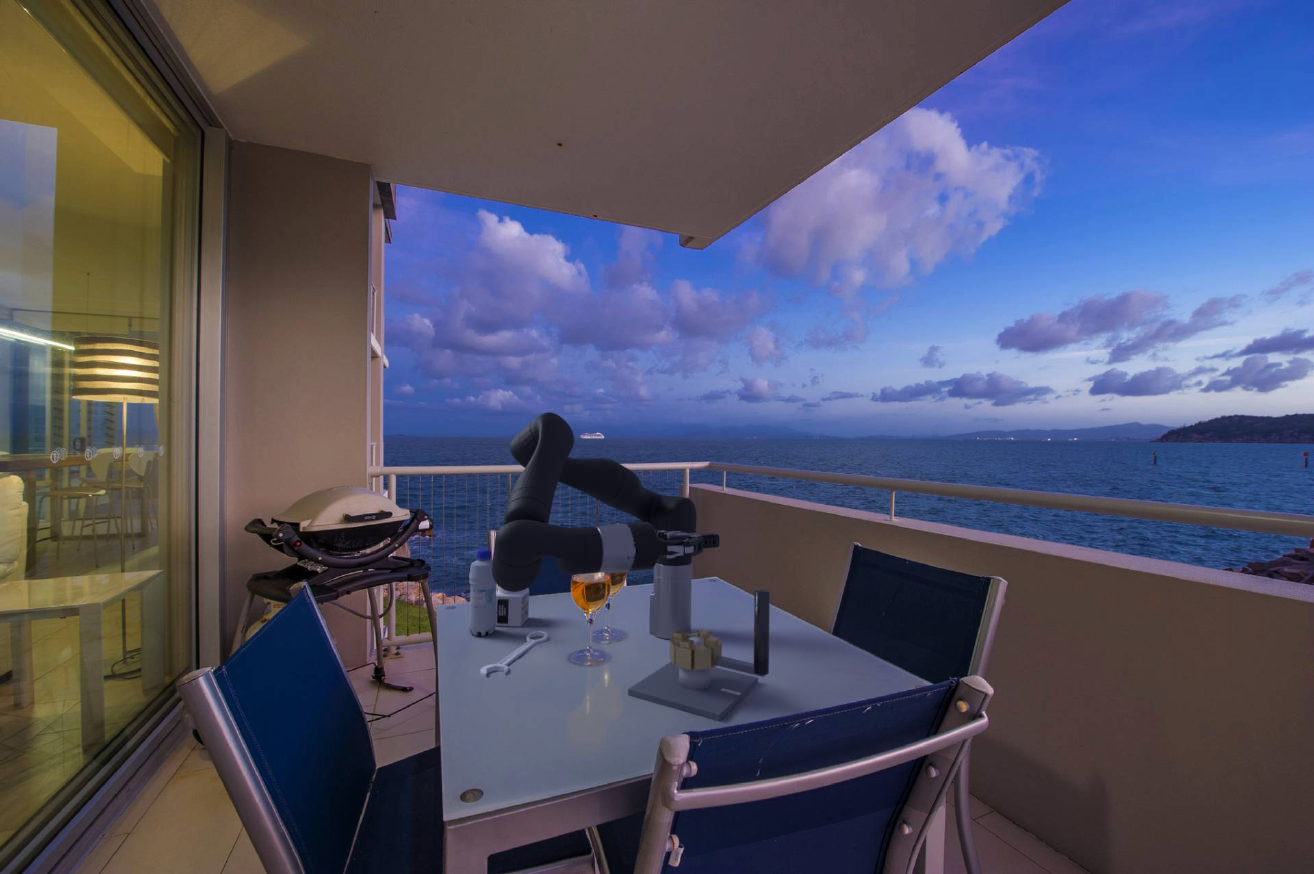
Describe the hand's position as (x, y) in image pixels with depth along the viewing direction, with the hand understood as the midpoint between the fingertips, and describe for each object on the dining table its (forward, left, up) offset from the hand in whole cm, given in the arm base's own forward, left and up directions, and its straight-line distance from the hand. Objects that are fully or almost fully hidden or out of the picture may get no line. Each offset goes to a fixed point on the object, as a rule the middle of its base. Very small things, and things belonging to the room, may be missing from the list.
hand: (717, 540), depth 95 cm
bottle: (-64, +7, -29) cm, 71 cm away
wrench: (-47, +1, -30) cm, 56 cm away
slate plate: (-7, +7, -29) cm, 31 cm away
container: (-65, +17, -29) cm, 73 cm away
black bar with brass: (-2, +6, -24) cm, 25 cm away
